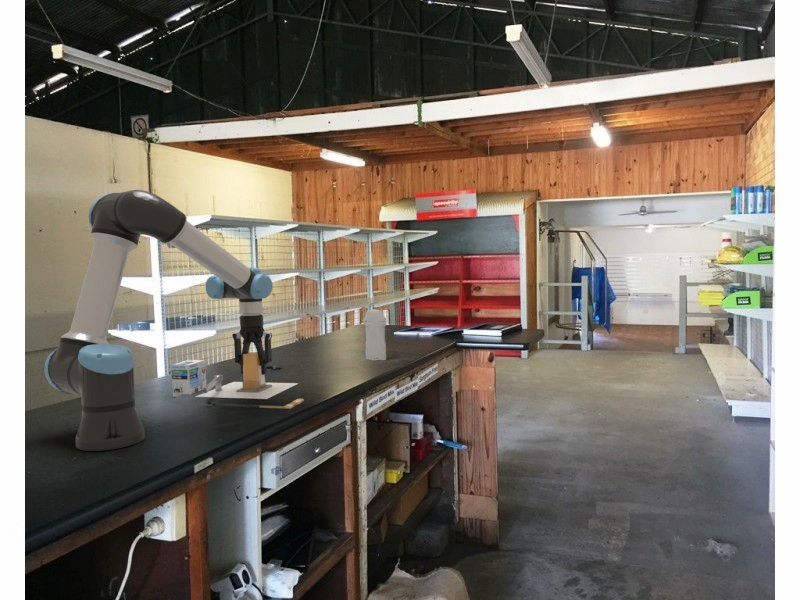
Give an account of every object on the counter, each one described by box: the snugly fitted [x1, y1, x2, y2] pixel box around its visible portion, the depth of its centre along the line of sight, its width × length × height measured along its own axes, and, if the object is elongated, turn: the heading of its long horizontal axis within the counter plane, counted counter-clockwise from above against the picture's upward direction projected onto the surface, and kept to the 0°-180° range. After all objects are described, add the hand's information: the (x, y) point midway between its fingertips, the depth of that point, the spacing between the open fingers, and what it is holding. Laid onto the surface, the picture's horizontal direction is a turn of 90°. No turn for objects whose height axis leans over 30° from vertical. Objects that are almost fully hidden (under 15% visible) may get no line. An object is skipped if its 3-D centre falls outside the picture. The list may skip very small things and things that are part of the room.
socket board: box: [194, 381, 299, 400], centre depth 199 cm, size 24×25×4 cm
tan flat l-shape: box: [259, 398, 305, 409], centre depth 182 cm, size 10×10×1 cm
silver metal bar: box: [202, 374, 224, 394], centre depth 190 cm, size 3×22×2 cm, turn 6°
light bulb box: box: [170, 359, 207, 398], centre depth 200 cm, size 11×7×11 cm, turn 168°
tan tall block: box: [241, 351, 267, 390], centre depth 200 cm, size 7×5×12 cm
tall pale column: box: [363, 308, 387, 361], centre depth 261 cm, size 11×4×22 cm, turn 67°
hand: (254, 384), depth 200 cm, fingers closed on tan tall block, 5 cm apart
